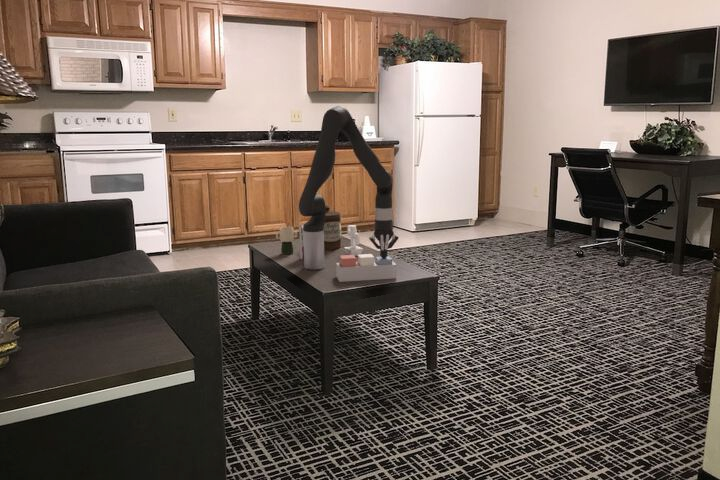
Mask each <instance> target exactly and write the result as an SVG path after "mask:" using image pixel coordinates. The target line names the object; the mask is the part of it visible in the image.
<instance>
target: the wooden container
mask: <svg viewBox="0 0 720 480" xmlns="http://www.w3.org/2000/svg"><path fill="white" fill-rule="evenodd" d="M341 219H342V218H341V212H340V211H336V210H335V211H334V210H330V206H329V205H325V225H324V251H329V250H336V249H337V250H338V249H340V248H342V221H341Z"/></svg>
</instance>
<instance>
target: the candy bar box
mask: <svg viewBox="0 0 720 480" xmlns="http://www.w3.org/2000/svg"><path fill="white" fill-rule="evenodd" d="M298 233H299V234H298V235H299V239H298V240H299V252H300V253H299V258H300V260H302V261H304V235H303V225H299V226H298Z"/></svg>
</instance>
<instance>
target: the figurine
mask: <svg viewBox="0 0 720 480" xmlns="http://www.w3.org/2000/svg"><path fill="white" fill-rule="evenodd" d="M357 230H358V229H357V225H356V224H354V225H353V224H352V225H350V224H349V225H347V227H346V234H347V236H348V237H350V246H345V247H343V248H344V251H345V252H346V255H354V256H355V257H358V255H359V254H362V252H363V250H364V248H363V247H360V246H358V245H360V243H361V242H360V240H361V239H360V238H361V237H360V236H361V235H360V234H359V233H358V232H357Z"/></svg>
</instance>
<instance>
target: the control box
mask: <svg viewBox="0 0 720 480" xmlns="http://www.w3.org/2000/svg"><path fill="white" fill-rule="evenodd" d="M335 273H336V274H335V276H336V279H337V280H338V282H340V283H341V282H343V283H344V282H358V281H373V280H374V281H375V280H378V281H379V280H390V279H397V264H396V262H394V261H393V260H392V264H388V265H377V264H376V263H375V260H374V265H371V266H359V265H358V261H356V266H354V267H341V266H340V262H336V263H335Z"/></svg>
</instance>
